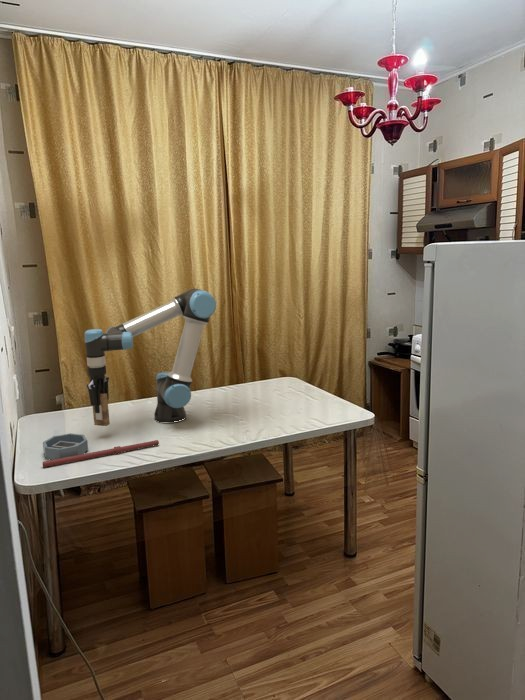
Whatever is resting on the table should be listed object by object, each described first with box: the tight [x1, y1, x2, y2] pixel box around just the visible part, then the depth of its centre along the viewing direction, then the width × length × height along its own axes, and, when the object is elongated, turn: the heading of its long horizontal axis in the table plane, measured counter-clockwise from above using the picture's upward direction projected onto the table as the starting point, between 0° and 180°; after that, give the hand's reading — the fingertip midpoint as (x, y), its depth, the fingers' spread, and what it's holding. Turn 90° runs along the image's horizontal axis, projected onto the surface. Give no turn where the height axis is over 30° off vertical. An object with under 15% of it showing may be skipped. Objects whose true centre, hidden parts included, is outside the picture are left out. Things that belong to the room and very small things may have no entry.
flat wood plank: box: [92, 393, 111, 427], centre depth 221 cm, size 6×2×14 cm, turn 75°
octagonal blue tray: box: [42, 432, 89, 460], centre depth 207 cm, size 16×16×5 cm
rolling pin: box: [41, 439, 160, 468], centre depth 204 cm, size 45×3×3 cm, turn 118°
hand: (101, 418), depth 222 cm, fingers closed on flat wood plank, 2 cm apart
